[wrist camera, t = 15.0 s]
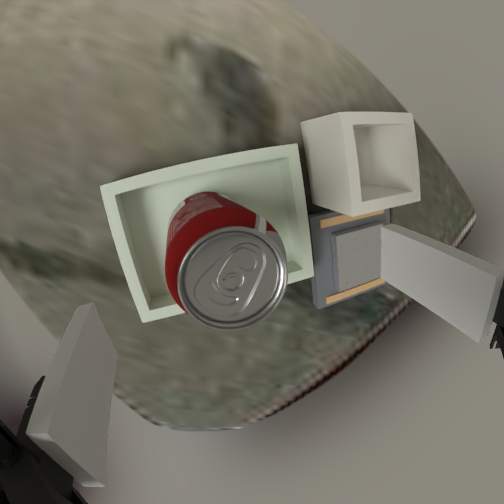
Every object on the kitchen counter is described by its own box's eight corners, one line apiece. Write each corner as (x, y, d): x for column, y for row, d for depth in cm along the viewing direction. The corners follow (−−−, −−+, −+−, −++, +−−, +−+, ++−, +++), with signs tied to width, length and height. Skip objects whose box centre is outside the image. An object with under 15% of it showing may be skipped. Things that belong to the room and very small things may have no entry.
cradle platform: (330, 233, 27) (335, 236, 27) (377, 221, 29) (383, 223, 28) (334, 288, 30) (339, 291, 29) (378, 272, 31) (383, 275, 30)
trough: (108, 183, 22) (99, 186, 19) (283, 145, 25) (297, 143, 22) (144, 307, 26) (142, 322, 23) (300, 265, 29) (314, 276, 26)
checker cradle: (304, 215, 28) (310, 218, 26) (382, 198, 30) (390, 200, 28) (313, 304, 31) (319, 310, 30) (383, 278, 33) (390, 283, 32)
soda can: (153, 240, 24) (138, 303, 13) (197, 175, 23) (219, 183, 12) (215, 279, 26) (247, 359, 15) (259, 219, 26) (323, 262, 15)
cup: (299, 122, 25) (339, 112, 18) (366, 118, 26) (412, 113, 20) (312, 203, 28) (352, 216, 21) (375, 191, 29) (420, 200, 23)
